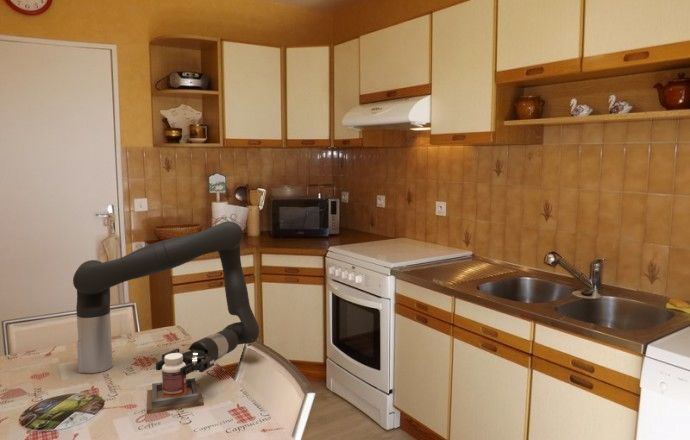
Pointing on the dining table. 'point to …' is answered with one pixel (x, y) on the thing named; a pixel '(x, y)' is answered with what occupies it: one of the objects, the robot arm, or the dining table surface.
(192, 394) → the grey shallow rectangular tray
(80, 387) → the dining table surface
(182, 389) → the pill bottle
